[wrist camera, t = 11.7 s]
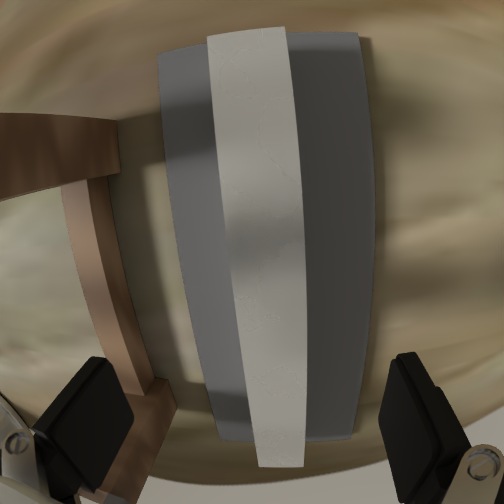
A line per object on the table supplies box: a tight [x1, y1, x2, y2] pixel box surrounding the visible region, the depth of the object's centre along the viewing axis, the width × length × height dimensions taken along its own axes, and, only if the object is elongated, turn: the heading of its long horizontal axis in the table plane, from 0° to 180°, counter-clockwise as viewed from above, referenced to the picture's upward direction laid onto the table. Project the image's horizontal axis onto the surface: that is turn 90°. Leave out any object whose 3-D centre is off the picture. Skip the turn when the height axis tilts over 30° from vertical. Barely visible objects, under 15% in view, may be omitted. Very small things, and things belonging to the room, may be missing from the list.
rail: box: [207, 27, 307, 467], centre depth 14 cm, size 24×3×3 cm, turn 5°
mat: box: [158, 32, 375, 442], centre depth 16 cm, size 26×10×1 cm, turn 4°
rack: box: [0, 113, 177, 504], centre depth 12 cm, size 20×6×12 cm, turn 4°
